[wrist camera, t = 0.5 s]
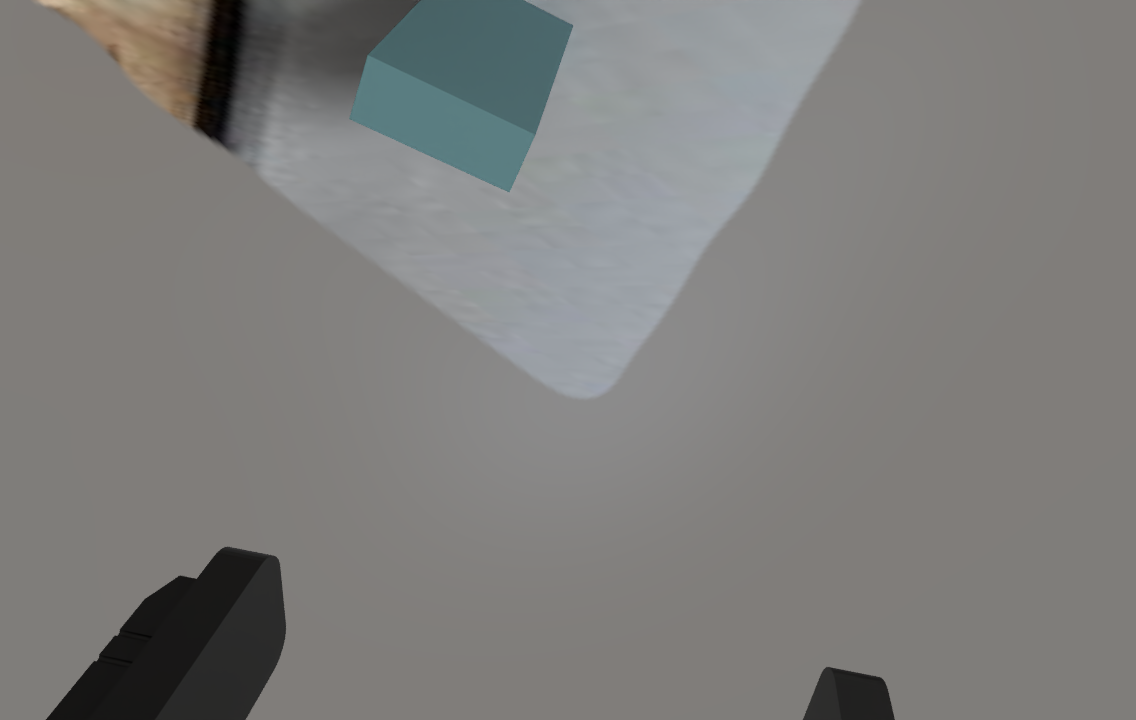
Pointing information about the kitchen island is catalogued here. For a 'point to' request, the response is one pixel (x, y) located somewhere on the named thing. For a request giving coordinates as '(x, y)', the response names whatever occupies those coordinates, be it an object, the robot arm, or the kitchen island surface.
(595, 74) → the kitchen island surface
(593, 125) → the kitchen island surface
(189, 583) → the robot arm
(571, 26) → the tail domino
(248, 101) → the kitchen island surface
